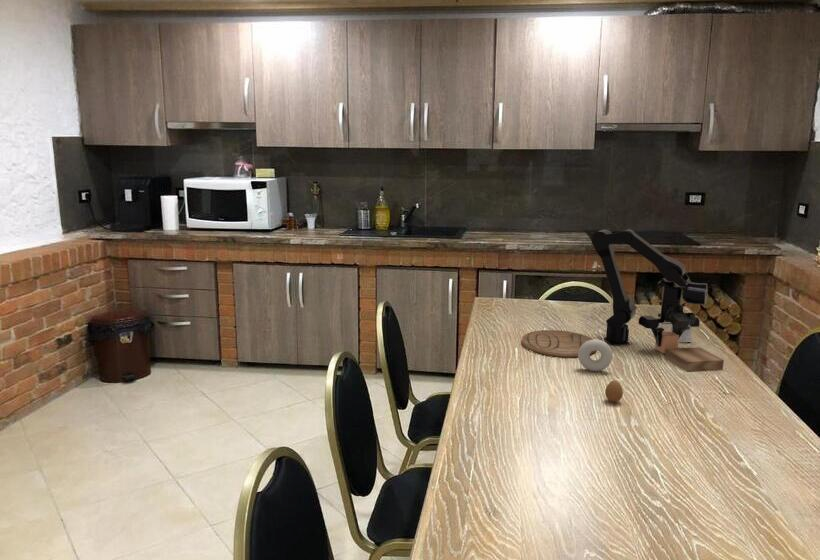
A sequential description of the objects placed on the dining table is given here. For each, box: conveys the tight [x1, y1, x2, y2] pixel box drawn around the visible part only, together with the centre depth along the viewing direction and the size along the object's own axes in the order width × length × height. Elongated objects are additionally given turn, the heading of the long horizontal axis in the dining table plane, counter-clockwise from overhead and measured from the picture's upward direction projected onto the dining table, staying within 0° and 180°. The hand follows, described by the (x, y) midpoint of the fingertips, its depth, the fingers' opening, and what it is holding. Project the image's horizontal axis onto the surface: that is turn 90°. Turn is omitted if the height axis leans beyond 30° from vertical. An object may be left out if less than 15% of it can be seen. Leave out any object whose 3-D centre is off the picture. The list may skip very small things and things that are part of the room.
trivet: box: [521, 329, 598, 359], centre depth 214 cm, size 25×25×2 cm
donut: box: [577, 338, 614, 372], centre depth 190 cm, size 10×4×10 cm, turn 77°
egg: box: [604, 380, 624, 403], centre depth 169 cm, size 4×4×6 cm
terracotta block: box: [654, 330, 679, 354], centre depth 209 cm, size 5×5×6 cm
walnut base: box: [664, 346, 725, 372], centre depth 198 cm, size 12×12×3 cm
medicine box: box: [669, 324, 693, 344], centre depth 222 cm, size 8×4×9 cm, turn 179°
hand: (666, 346), depth 210 cm, fingers closed on terracotta block, 5 cm apart
